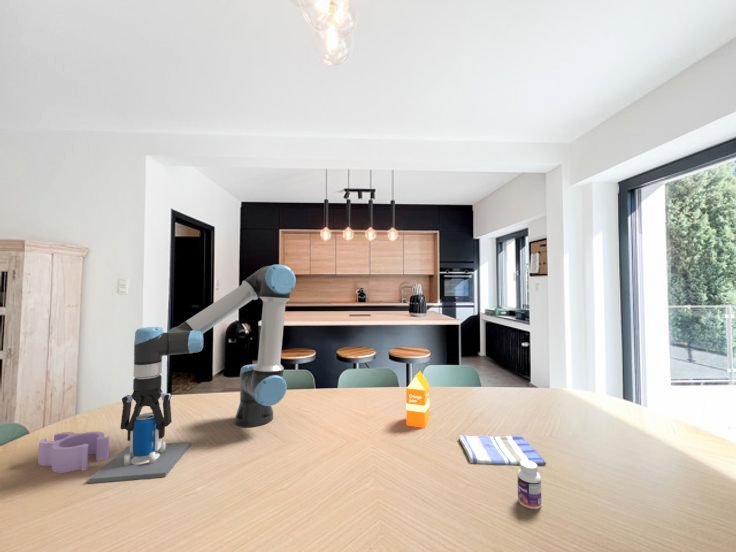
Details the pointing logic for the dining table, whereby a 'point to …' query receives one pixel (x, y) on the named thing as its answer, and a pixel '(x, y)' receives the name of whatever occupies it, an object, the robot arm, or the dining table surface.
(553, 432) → the dining table surface
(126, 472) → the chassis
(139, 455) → the beverage can
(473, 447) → the dish towel
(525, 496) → the pill bottle
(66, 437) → the clip
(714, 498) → the dining table surface
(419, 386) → the orange juice
